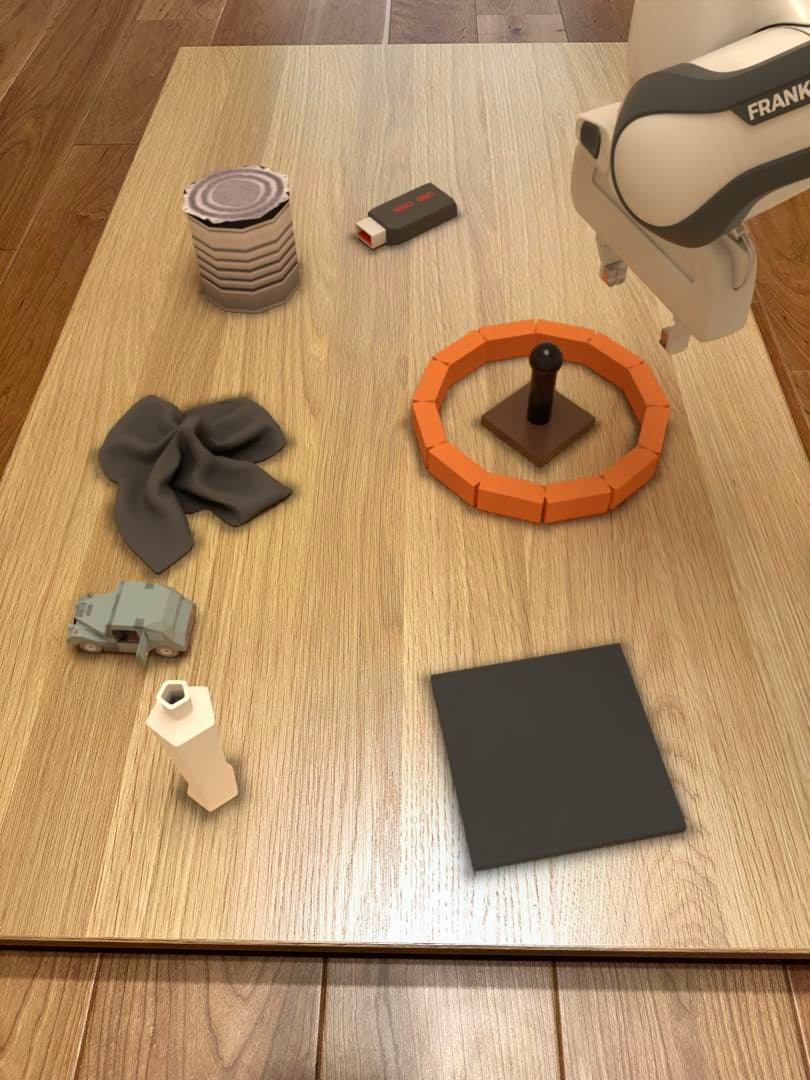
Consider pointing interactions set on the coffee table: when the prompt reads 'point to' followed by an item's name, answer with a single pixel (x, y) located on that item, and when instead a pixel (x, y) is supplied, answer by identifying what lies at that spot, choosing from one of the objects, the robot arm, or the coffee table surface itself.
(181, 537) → the cloth
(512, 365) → the coffee table surface
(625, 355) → the hoop
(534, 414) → the post
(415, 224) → the usb drive
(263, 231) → the can
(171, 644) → the toy car
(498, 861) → the mat
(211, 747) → the cream vase
